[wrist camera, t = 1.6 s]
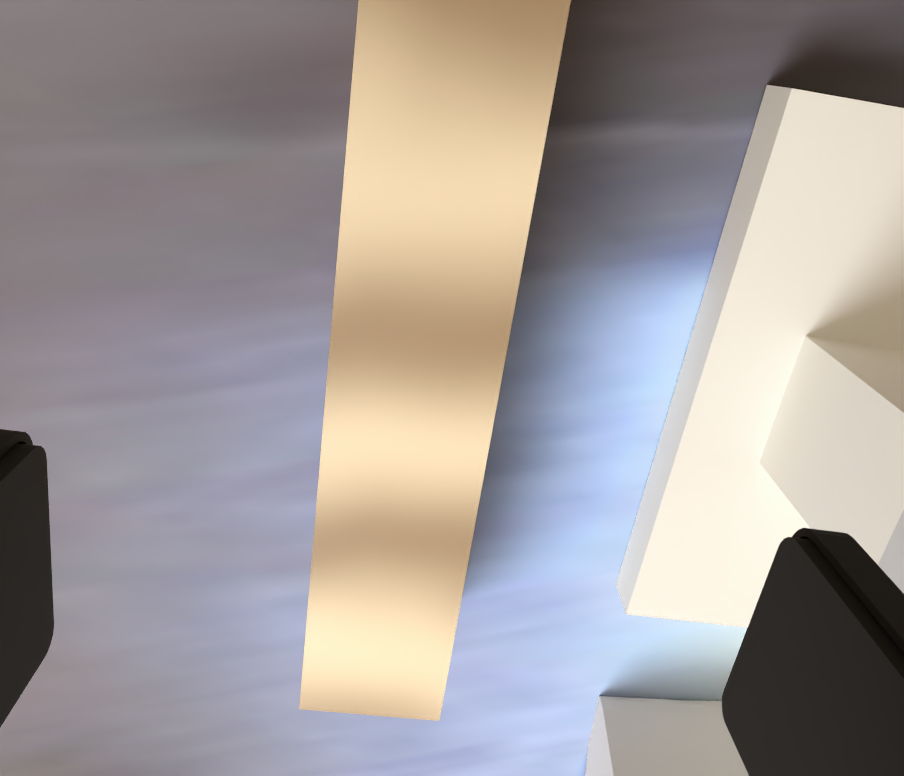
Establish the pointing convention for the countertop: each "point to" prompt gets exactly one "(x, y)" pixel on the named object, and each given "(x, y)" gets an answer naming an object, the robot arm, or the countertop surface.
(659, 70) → the countertop surface
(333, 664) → the beech batten
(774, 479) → the balance stand
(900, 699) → the robot arm
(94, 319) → the countertop surface
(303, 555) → the countertop surface
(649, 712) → the white flat block
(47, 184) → the countertop surface
